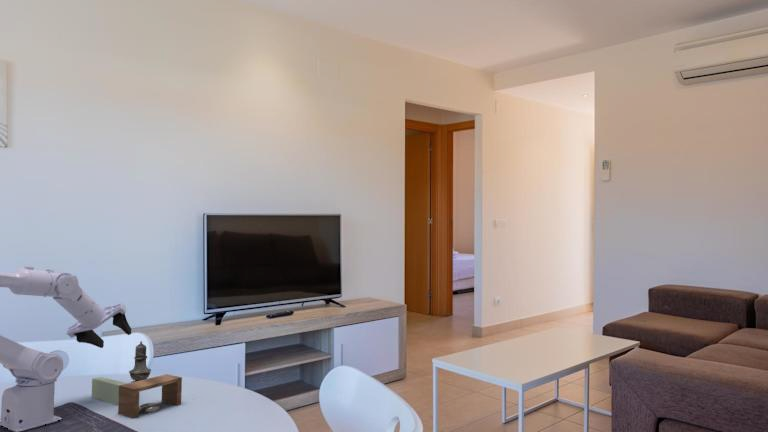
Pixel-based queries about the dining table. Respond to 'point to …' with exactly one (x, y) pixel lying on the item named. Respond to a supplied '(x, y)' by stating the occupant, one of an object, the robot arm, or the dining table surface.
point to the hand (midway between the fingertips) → (116, 338)
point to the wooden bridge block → (130, 391)
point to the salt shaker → (140, 364)
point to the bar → (106, 389)
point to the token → (149, 408)
